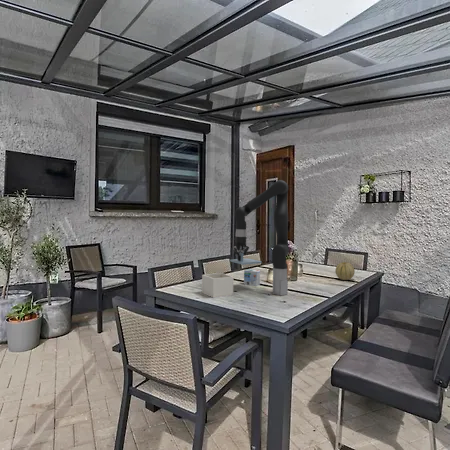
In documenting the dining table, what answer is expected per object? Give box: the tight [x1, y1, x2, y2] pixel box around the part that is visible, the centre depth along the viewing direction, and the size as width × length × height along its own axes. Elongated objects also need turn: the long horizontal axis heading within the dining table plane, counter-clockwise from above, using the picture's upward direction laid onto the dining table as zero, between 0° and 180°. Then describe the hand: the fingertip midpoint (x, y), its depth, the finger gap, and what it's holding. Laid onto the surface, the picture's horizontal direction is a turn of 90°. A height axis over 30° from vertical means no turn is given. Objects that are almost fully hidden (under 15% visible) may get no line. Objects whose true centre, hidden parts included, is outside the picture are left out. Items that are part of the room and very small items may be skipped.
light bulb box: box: [243, 268, 261, 287], centre depth 251 cm, size 11×7×11 cm, turn 62°
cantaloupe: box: [335, 261, 356, 281], centre depth 273 cm, size 15×15×15 cm
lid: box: [229, 253, 263, 266], centre depth 236 cm, size 16×16×7 cm
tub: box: [201, 272, 234, 299], centre depth 221 cm, size 15×15×12 cm
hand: (240, 260), depth 234 cm, fingers closed on lid, 1 cm apart
